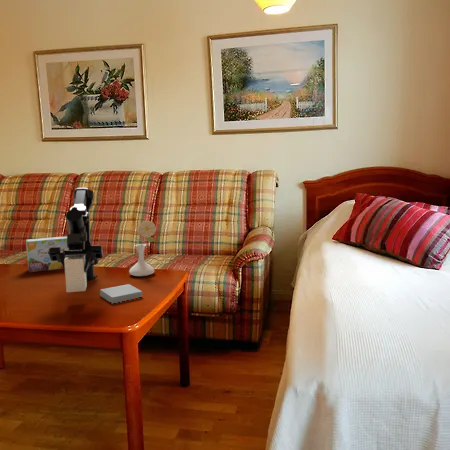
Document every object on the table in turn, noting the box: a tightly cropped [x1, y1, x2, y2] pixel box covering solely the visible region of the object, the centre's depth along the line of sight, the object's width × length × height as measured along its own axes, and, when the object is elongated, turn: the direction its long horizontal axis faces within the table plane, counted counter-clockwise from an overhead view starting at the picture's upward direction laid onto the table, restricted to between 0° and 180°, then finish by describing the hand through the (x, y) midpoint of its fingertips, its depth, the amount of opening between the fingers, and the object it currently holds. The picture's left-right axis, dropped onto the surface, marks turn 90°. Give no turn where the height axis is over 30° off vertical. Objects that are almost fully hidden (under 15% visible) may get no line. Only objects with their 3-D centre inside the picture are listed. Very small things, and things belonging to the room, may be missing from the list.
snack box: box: [25, 235, 71, 273], centre depth 212 cm, size 21×6×15 cm, turn 117°
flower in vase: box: [128, 220, 157, 277], centre depth 199 cm, size 13×11×25 cm
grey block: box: [99, 283, 143, 305], centre depth 170 cm, size 12×12×3 cm
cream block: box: [64, 255, 88, 293], centre depth 162 cm, size 6×6×12 cm
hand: (75, 272), depth 160 cm, fingers closed on cream block, 6 cm apart
